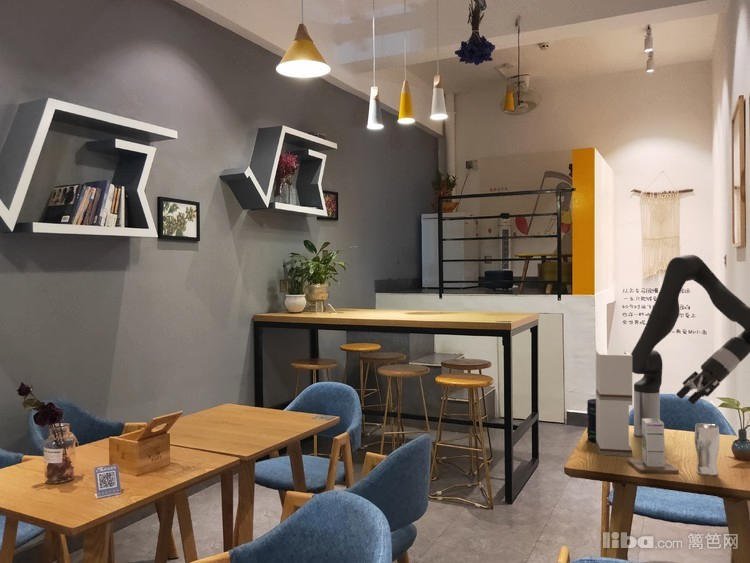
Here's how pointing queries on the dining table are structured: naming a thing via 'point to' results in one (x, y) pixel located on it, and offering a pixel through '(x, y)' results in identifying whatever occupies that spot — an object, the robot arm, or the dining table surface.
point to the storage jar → (591, 420)
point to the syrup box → (653, 442)
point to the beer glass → (707, 448)
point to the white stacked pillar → (613, 403)
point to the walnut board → (643, 468)
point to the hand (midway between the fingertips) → (684, 399)
